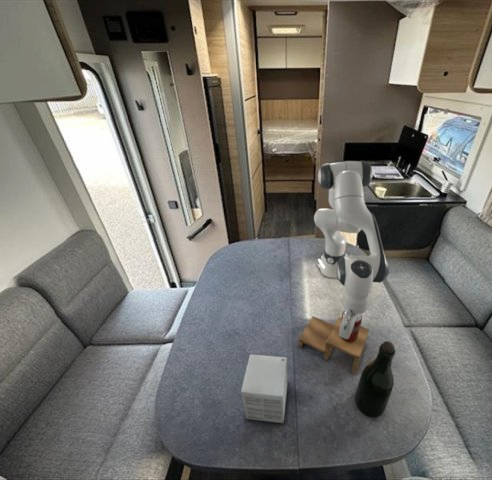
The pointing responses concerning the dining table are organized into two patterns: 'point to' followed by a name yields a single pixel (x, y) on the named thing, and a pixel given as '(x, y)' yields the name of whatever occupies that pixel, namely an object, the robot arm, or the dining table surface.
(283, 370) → the supplement box
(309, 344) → the step shelf
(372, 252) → the robot arm
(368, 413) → the dark green wine bottle
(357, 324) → the soda can
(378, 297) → the dining table surface
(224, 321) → the dining table surface
